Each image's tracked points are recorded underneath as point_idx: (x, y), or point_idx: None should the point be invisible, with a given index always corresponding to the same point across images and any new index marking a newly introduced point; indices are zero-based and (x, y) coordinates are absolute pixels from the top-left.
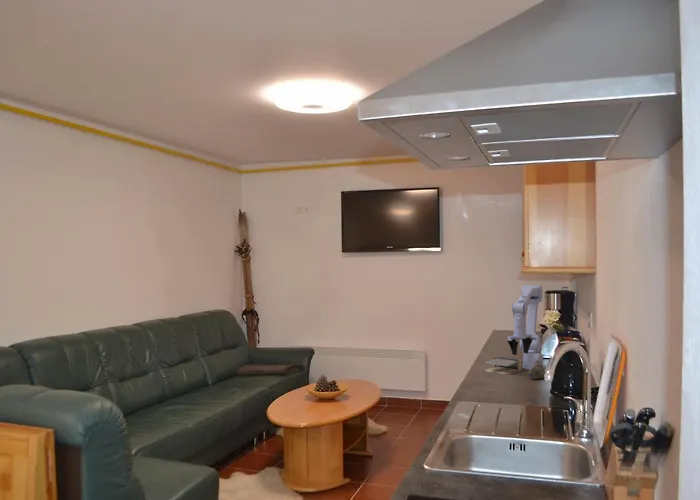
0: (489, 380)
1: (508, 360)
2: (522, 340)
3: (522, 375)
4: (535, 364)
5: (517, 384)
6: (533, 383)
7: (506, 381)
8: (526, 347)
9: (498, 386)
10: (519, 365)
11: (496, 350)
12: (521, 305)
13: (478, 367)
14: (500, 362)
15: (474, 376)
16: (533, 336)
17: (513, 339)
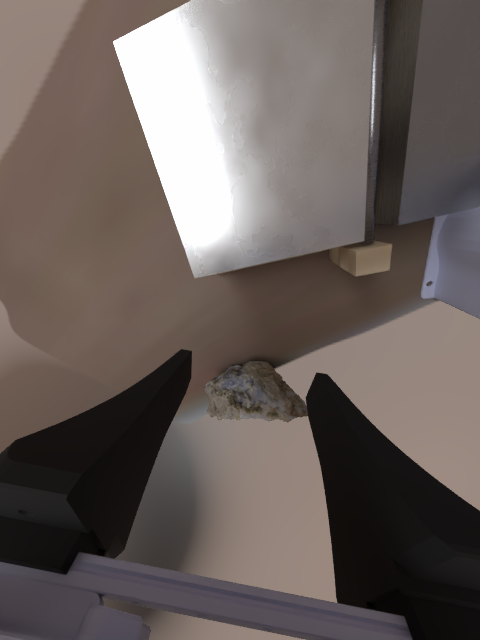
0: (69, 280)
1: (339, 164)
2: (402, 515)
3: (256, 314)
4: (249, 417)
5: (135, 371)
6: (189, 392)
7: (125, 330)
8: (325, 445)
9: (61, 350)
10: (341, 258)
11: None
12: None
13: None
14: (215, 180)
15: (27, 169)
16: None
17: (41, 577)
